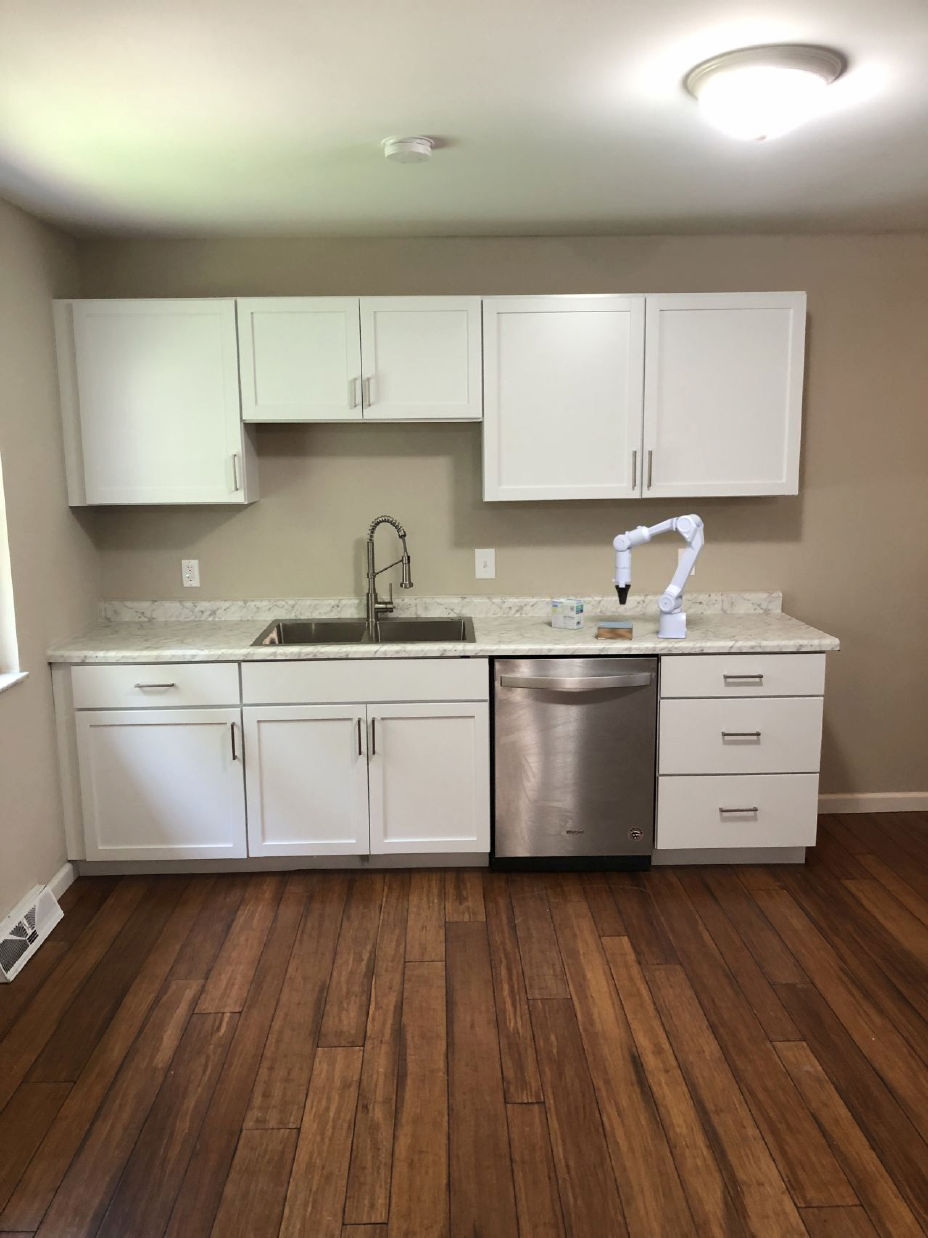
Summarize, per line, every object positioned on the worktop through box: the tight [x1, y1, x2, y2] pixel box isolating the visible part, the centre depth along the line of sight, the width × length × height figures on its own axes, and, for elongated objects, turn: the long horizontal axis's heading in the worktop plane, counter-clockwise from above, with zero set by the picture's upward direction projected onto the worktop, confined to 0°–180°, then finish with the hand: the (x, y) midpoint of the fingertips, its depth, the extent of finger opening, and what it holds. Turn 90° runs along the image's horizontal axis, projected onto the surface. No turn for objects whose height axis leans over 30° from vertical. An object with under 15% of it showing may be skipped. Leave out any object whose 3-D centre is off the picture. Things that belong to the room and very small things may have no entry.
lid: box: [597, 621, 634, 628], centre depth 333 cm, size 12×8×1 cm
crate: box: [596, 626, 634, 641], centre depth 334 cm, size 12×8×4 cm, turn 78°
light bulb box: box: [551, 597, 585, 630], centre depth 356 cm, size 11×7×11 cm, turn 56°
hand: (622, 604), depth 343 cm, fingers closed
